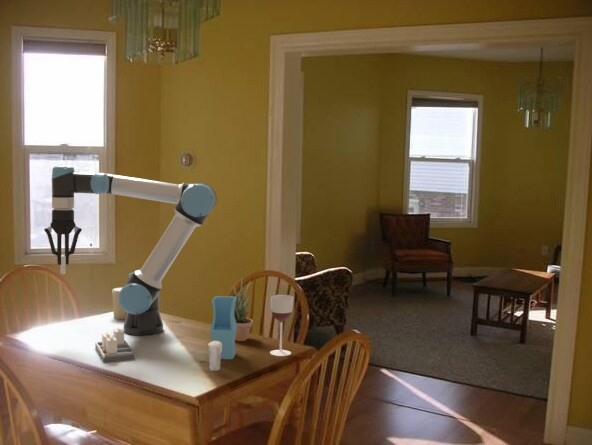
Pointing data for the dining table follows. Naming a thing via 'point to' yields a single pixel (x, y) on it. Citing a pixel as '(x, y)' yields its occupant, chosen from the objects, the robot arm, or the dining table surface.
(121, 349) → the switch bank
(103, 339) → the tab
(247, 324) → the potted plant
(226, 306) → the vase
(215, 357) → the milkshake
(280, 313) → the wineglass
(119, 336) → the tab
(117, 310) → the coffee cup
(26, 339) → the dining table surface
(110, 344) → the tab
